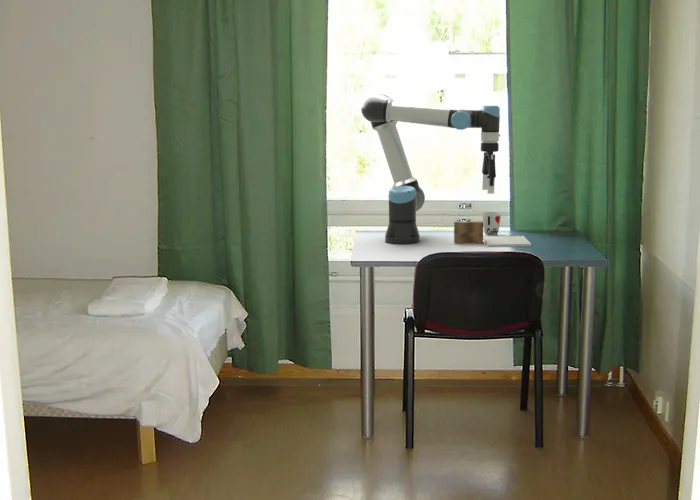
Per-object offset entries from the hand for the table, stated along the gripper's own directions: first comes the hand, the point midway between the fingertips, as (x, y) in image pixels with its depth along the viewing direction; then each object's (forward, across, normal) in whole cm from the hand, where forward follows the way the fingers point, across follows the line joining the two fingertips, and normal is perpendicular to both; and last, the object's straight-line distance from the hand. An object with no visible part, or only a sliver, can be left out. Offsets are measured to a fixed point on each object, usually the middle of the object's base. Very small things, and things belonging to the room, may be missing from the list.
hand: (488, 191), depth 370 cm
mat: (+21, -9, -7) cm, 24 cm away
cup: (+21, +9, -4) cm, 23 cm away
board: (+21, -8, +9) cm, 24 cm away
